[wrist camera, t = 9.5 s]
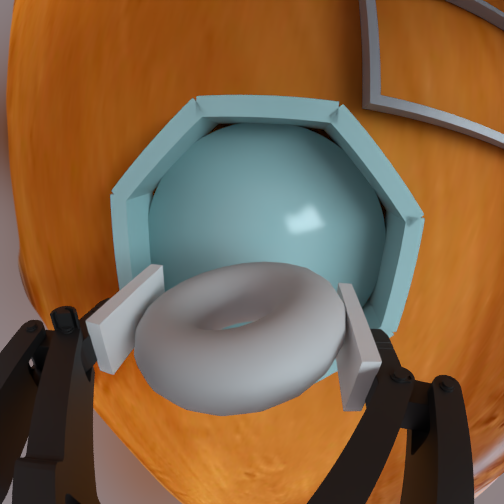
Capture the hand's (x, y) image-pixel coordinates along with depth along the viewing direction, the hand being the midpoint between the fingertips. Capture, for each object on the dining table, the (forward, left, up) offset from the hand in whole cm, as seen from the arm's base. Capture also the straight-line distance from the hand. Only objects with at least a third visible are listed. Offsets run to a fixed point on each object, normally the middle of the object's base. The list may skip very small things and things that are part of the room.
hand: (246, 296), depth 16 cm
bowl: (0, 0, -9) cm, 9 cm away
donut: (0, 0, -2) cm, 2 cm away
